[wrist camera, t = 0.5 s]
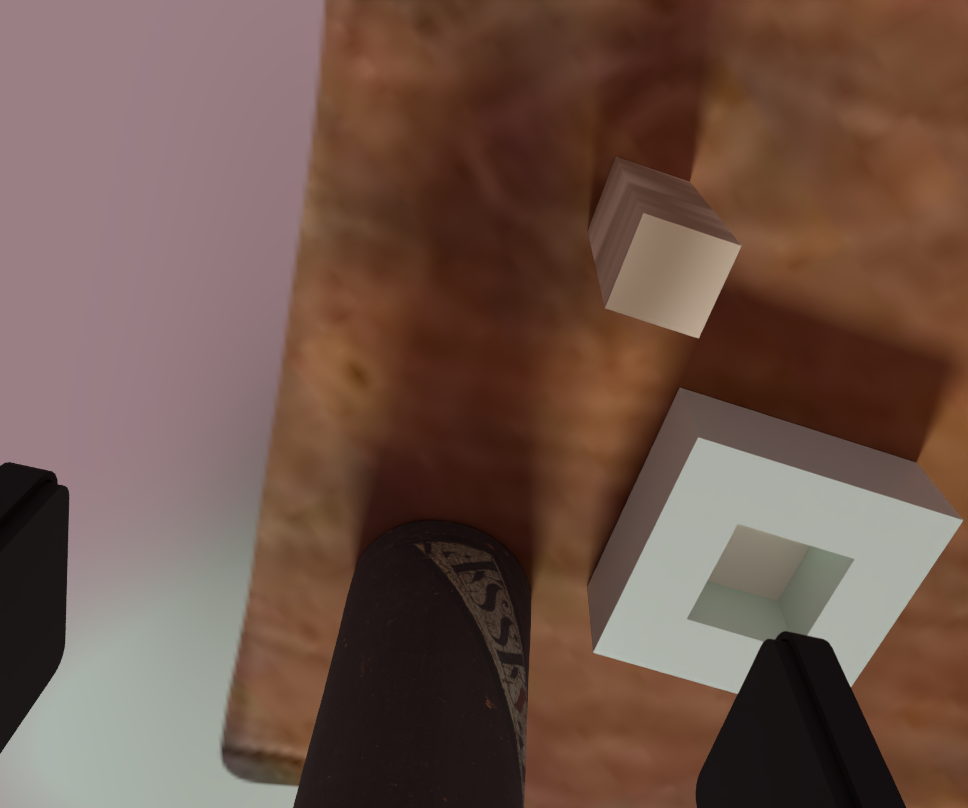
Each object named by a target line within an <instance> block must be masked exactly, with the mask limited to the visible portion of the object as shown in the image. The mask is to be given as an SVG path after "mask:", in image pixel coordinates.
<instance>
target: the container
mask: <svg viewBox="0 0 968 808" xmlns="http://www.w3.org/2000/svg"><path fill="white" fill-rule="evenodd" d="M530 630H531V589H530V586H529V584H528V581H527V578H526V576H525V573H524V571H523V570H522V568H521V566H520V564H519V563H518V561H517V560H516V559H515V557H514V556H513V555H512V554H511V553H510V552H509V551H508V550H507V549H506V548H504V547H503V546H502V545H501V544H500V543H498V542H497V541H496V540H494V539H493V538H492V537H490V536H488V535H486V534H484V533H483V532H481V531H478V530H476V529H474V528H471V527H468V526H465V525H461V524H457V523H451V522H445V521H419V522H413V523H409V524H405V525H402V526H399V527H396V528H394V529H392V530H390V531H388V532H386V533H385V534H383V535H381V536H380V537H379V538H377V539H376V540H375V541H374V542H373V543H372V544H371V545H370V546H369V547H368V548H367V549H366V550H365V552H364V553H363V554H362V556H361V558H360V559H359V561H358V564H357V566H356V569H355V572H354V575H353V578H352V582H351V585H350V589H349V592H348V596H347V600H346V605H345V608H344V612H343V617H342V621H341V625H340V630H339V634H338V638H337V642H336V646H335V649H334V653H333V657H332V661H331V665H330V669H329V673H328V677H327V681H326V685H325V689H324V693H323V697H322V701H321V704H320V708H319V711H318V715H317V719H316V723H315V727H314V730H313V734H312V738H311V742H310V745H309V749H308V753H307V757H306V760H305V764H304V767H303V771H302V775H301V780H300V784H299V788H298V792H297V796H296V799H295V803H294V807H293V808H524V791H525V766H526V728H527V704H528V673H529V653H530Z"/></svg>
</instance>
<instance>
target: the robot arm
mask: <svg viewBox="0 0 968 808" xmlns="http://www.w3.org/2000/svg"><path fill="white" fill-rule="evenodd" d="M68 521H69V491H68V488H67V487H65V486H63V485H58V483H57V478H56V475H55V474H54V473H53V472H52V471H47V470H43V469H38V468H34V467H29V466H24V465H20V464H15V463H11V462H8V463H4V464H3V465H1V466H0V753H1V752H2V750H3V749H4V747H5V746H6V744H7V743H8V741H9V740H10V738H11V737H12V735H13V734H14V733H15V731H16V730H17V728H18V727H19V725H20V724H21V722H22V720H23V719H24V718H25V716H26V715H27V714H28V712H29V710H30V709H31V708H32V706H33V705H34V703H35V702H36V700H37V699H38V697H39V696H40V694H41V693H42V691H43V690H44V688H45V687H46V686H47V684H48V683H49V681H50V680H51V678H52V676H53V675H54V674H55V672H56V670H57V669H58V666H59V664H60V662H61V659H62V656H63V652H64V648H65V631H66V594H67V558H68ZM696 804H697V808H906V806H905V804H904V802H903V800H902V798H901V795H900V793H899V791H898V789H897V787H896V785H895V782H894V780H893V778H892V776H891V774H890V771H889V769H888V767H887V765H886V763H885V761H884V759H883V757H882V754H881V752H880V750H879V748H878V746H877V744H876V741H875V739H874V737H873V735H872V733H871V731H870V728H869V726H868V724H867V722H866V720H865V718H864V715H863V713H862V711H861V709H860V707H859V704H858V702H857V700H856V698H855V696H854V694H853V691H852V689H851V687H850V685H849V683H848V681H847V678H846V676H845V674H844V672H843V670H842V668H841V665H840V663H839V661H838V659H837V657H836V654H835V652H834V650H833V648H832V646H831V645H830V643H829V642H828V641H826V640H824V639H821V638H816V637H811V636H807V635H802V634H798V633H793V632H788V631H784V632H781V633H780V634H779V635H778V636H777V637H776V639H775V640H774V639H766V640H765V641H764V642H763V644H762V645H761V647H760V649H759V651H758V653H757V655H756V657H755V659H754V662H753V664H752V666H751V668H750V670H749V672H748V674H747V676H746V678H745V680H744V682H743V684H742V686H741V689H740V691H739V693H738V695H737V697H736V699H735V701H734V703H733V705H732V707H731V709H730V711H729V713H728V716H727V718H726V720H725V722H724V724H723V726H722V728H721V730H720V732H719V734H718V736H717V738H716V740H715V743H714V745H713V747H712V749H711V751H710V753H709V755H708V757H707V759H706V761H705V763H704V765H703V767H702V770H701V772H700V774H699V777H698V780H697V785H696Z"/></svg>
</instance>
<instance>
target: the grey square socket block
mask: <svg viewBox="0 0 968 808" xmlns="http://www.w3.org/2000/svg"><path fill="white" fill-rule="evenodd" d="M962 522H963V519H962V518H961V517H960V515H959V514H958V513H957V512H956V511H955V509H954V508H953V507H952V506H951V504H950V503H949V502H948V501H947V499H946V498H945V497H944V496H943V494H942V493H941V492H940V491H939V489H938V488H937V487H936V486H935V484H934V483H933V482H932V481H931V479H930V478H929V477H928V476H927V475H926V473H925V472H924V471H923V470H922V468H921V467H920V466H919V465H918V463H916V462H913V461H910V460H907V459H903V458H900V457H897V456H894V455H891V454H888V453H885V452H881V451H878V450H875V449H872V448H869V447H866V446H863V445H859V444H856V443H853V442H850V441H847V440H844V439H841V438H837V437H834V436H831V435H828V434H825V433H822V432H819V431H815V430H812V429H809V428H806V427H803V426H800V425H797V424H793V423H790V422H787V421H784V420H781V419H778V418H775V417H771V416H768V415H765V414H762V413H759V412H756V411H752V410H749V409H746V408H743V407H740V406H737V405H734V404H730V403H727V402H724V401H721V400H718V399H715V398H712V397H708V396H705V395H702V394H699V393H696V392H693V391H690V390H686V389H683V388H679V390H678V392H677V394H676V396H675V399H674V401H673V403H672V405H671V407H670V409H669V412H668V414H667V416H666V418H665V420H664V422H663V424H662V427H661V429H660V431H659V433H658V435H657V437H656V440H655V442H654V444H653V446H652V448H651V450H650V453H649V455H648V457H647V459H646V461H645V463H644V465H643V468H642V470H641V472H640V474H639V476H638V478H637V481H636V483H635V485H634V487H633V489H632V491H631V494H630V496H629V498H628V500H627V502H626V504H625V506H624V509H623V511H622V513H621V515H620V517H619V519H618V522H617V524H616V526H615V528H614V530H613V532H612V534H611V537H610V539H609V541H608V543H607V545H606V547H605V550H604V552H603V554H602V556H601V558H600V560H599V563H598V565H597V567H596V569H595V571H594V573H593V575H592V578H591V580H590V582H589V584H588V586H587V592H588V603H589V614H590V625H591V635H592V646H593V653H596V654H600V655H603V656H607V657H610V658H614V659H617V660H621V661H624V662H628V663H631V664H635V665H638V666H642V667H645V668H649V669H652V670H656V671H659V672H663V673H666V674H670V675H673V676H677V677H680V678H684V679H687V680H691V681H694V682H698V683H701V684H705V685H708V686H712V687H715V688H719V689H722V690H726V691H729V692H733V693H736V694H738V693H739V691H740V689H741V686H742V684H743V682H744V680H745V678H746V676H747V674H748V672H749V670H750V668H751V666H752V664H753V662H754V659H755V657H756V655H757V653H758V651H759V649H760V647H761V645H762V644H763V642H764V641H765V640H766V639H774V640H775V639H776V637H777V636H778V635H779V634H780V633H781V632H784V631H788V632H793V633H798V634H802V635H807V636H811V637H816V638H821V639H824V640H826V641H828V642H829V643H830V645H831V646H832V648H833V650H834V652H835V654H836V657H837V659H838V661H839V663H840V665H841V668H842V670H843V672H844V674H845V676H846V678H847V681H848V683H849V685H850V687H851V686H852V685H853V683H854V682H855V680H856V679H857V677H858V676H859V675H860V673H861V672H862V670H863V669H864V667H865V666H866V664H867V663H868V661H869V660H870V658H871V657H872V655H873V654H874V652H875V651H876V649H877V648H878V646H879V645H880V643H881V642H882V640H883V639H884V637H885V636H886V634H887V633H888V631H889V630H890V628H891V627H892V626H893V624H894V623H895V621H896V620H897V618H898V617H899V615H900V614H901V612H902V611H903V609H904V608H905V606H906V605H907V603H908V602H909V600H910V599H911V597H912V596H913V594H914V593H915V591H916V590H917V588H918V587H919V585H920V584H921V582H922V581H923V580H924V578H925V577H926V575H927V574H928V572H929V571H930V569H931V568H932V566H933V565H934V563H935V562H936V560H937V559H938V557H939V556H940V554H941V553H942V551H943V550H944V548H945V547H946V545H947V544H948V542H949V541H950V539H951V538H952V536H953V535H954V533H955V532H956V531H957V529H958V528H959V526H960V525H961V523H962Z"/></svg>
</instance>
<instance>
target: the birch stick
mask: <svg viewBox="0 0 968 808" xmlns="http://www.w3.org/2000/svg"><path fill="white" fill-rule="evenodd" d="M588 236H589V240H590V244H591V249H592V253H593V258H594V262H595V266H596V271H597V275H598V280H599V284H600V288H601V293H602V297H603V302H604V306H605V308H606V309H609V310H612V311H615V312H618V313H621V314H624V315H627V316H631V317H634V318H637V319H640V320H643V321H646V322H649V323H652V324H655V325H658V326H661V327H664V328H668V329H671V330H674V331H677V332H680V333H683V334H686V335H689V336H692V337H695V338H698V339H699V337H700V335H701V332H702V330H703V328H704V326H705V324H706V322H707V319H708V317H709V315H710V313H711V311H712V309H713V306H714V304H715V302H716V300H717V298H718V296H719V293H720V291H721V289H722V287H723V285H724V283H725V280H726V278H727V276H728V274H729V272H730V270H731V267H732V265H733V263H734V261H735V259H736V257H737V254H738V252H739V250H740V248H741V245H740V243H739V242H738V241H737V240H736V238H735V237H734V236H733V235H732V233H731V232H730V231H729V230H728V228H727V227H726V226H725V225H724V223H723V222H722V221H721V220H720V218H719V217H718V216H717V215H716V213H715V212H714V211H713V210H712V208H711V207H710V206H709V205H708V203H707V202H706V201H705V200H704V199H703V197H702V196H701V195H700V194H699V192H698V191H697V190H696V189H695V187H694V186H693V185H692V184H691V182H689V181H686V180H683V179H680V178H678V177H675V176H672V175H669V174H666V173H663V172H660V171H657V170H654V169H651V168H648V167H645V166H642V165H639V164H637V163H634V162H631V161H628V160H625V159H622V158H619V157H615V160H614V163H613V165H612V168H611V170H610V173H609V176H608V178H607V181H606V184H605V186H604V189H603V192H602V194H601V197H600V200H599V202H598V205H597V207H596V210H595V213H594V215H593V218H592V221H591V223H590V226H589V229H588Z"/></svg>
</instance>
